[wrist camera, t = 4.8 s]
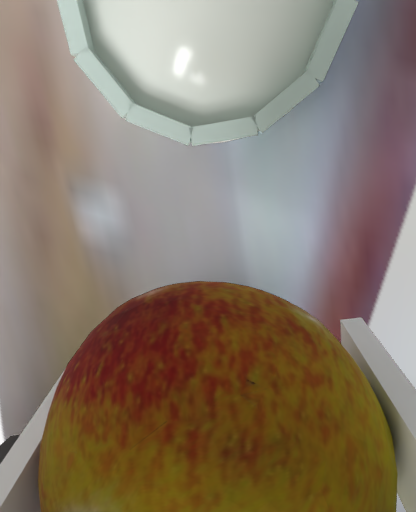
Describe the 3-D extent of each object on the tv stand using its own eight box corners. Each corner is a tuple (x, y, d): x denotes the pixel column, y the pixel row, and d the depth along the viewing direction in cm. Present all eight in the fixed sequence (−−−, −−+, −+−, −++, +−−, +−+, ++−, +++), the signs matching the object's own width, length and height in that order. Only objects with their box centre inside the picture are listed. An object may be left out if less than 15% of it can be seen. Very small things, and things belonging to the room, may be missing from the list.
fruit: (69, 388, 15) (-93, 652, 7) (156, 202, 12) (40, 316, 4) (264, 472, 16) (301, 778, 8) (386, 320, 13) (608, 572, 6)
